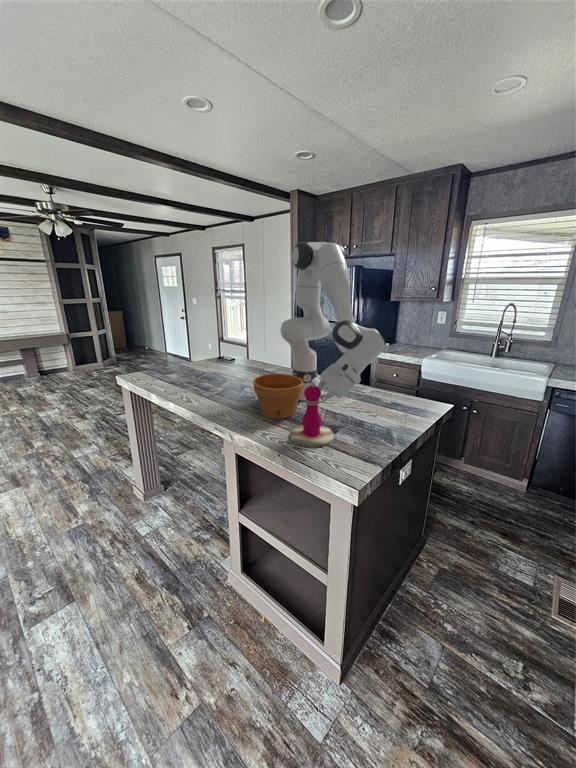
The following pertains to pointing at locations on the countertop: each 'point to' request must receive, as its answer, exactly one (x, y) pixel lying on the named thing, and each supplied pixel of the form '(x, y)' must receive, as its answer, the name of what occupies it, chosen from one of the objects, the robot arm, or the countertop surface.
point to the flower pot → (278, 394)
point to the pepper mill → (312, 412)
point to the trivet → (321, 440)
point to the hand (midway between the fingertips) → (319, 395)
